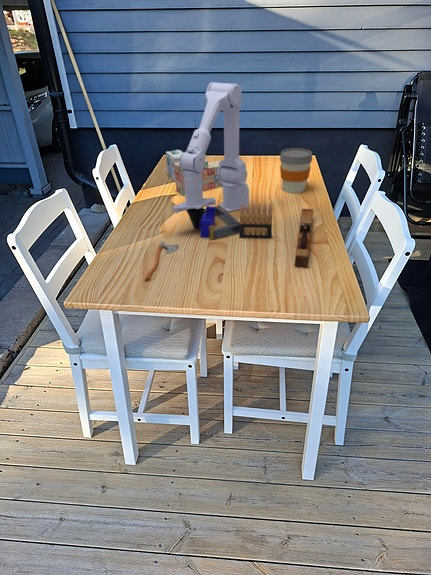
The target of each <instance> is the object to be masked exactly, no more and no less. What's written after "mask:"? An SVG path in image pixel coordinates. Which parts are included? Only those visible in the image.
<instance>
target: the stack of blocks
mask: <svg viewBox="0 0 431 575" xmlns="http://www.w3.org/2000/svg"><path fill="white" fill-rule="evenodd" d="M220 161H221V160H215V161H211V162H209V161H208V160H207V159H205V167H204V169H203V170H202V189H203V192H206V191H205V190H207V191H210V190H215V189H218V188H220V187H222V188H223V184H221V181H219V179H218V176H217V172H218V168H219V162H220ZM174 168H175V180H176V182H175V190H176V193H177V192H178V194H179V193H180V194H179V195H180V196H182V195H183V197H185V184H184V176H183V174H182V170H181V168H180V167H179V162H178V163H174ZM209 189H210V190H209Z"/></svg>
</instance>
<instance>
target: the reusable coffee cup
mask: <svg viewBox="0 0 431 575" xmlns="http://www.w3.org/2000/svg"><path fill="white" fill-rule="evenodd" d="M279 161H280V166H279V169H280V179H281V183H282V184H281V185H282V191H284V193H288V194H300V193H303V192H304V191H305V189H306V185H307V180H309V177H310V172H311V163H312V161H313V152H312V151H311V150H309V149H307V148H299V147H295V148H293V147H292V148H285V149H283V150H281V152H280V158H279Z"/></svg>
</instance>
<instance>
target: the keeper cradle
mask: <svg viewBox="0 0 431 575" xmlns="http://www.w3.org/2000/svg"><path fill="white" fill-rule="evenodd" d="M214 207H215V217H216V216H217V217H218V218H219V219H220V220H221V221H223V222H224V223H225V224H227V225H225V226H221V227H217V228H215V226H213V225H211V226H208V229H209V238H208V239H209V241H213V240H214V241H215V240H219V239H222V238H225V237H230V236H234V235H237V234H239V233H240V220H239V221H238V219H237V218H235V217H233V216H232V215H231V214H230V213H229V212H228V211H226V210H225V209H224V208H222V207H221V206H220V205H214ZM204 210H205V211H204V214H206V208H204ZM188 216H189V215H188ZM189 221H190V222H192V221H191V219H190V216H189Z"/></svg>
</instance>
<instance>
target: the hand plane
mask: <svg viewBox="0 0 431 575" xmlns="http://www.w3.org/2000/svg"><path fill="white" fill-rule="evenodd" d="M313 215H314V209H312V208H311V209H310V208H302V209H301V214H300V222H299V228H298V234H297V235H298V236H297V243H296V252H295V258H294V267H295V268H298V269H299V268H301V269H302V268H303V269H307V268H308V266H309V257H310V246H311V245H310V244H311V235H312V227H313V226H312V225H313Z"/></svg>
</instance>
